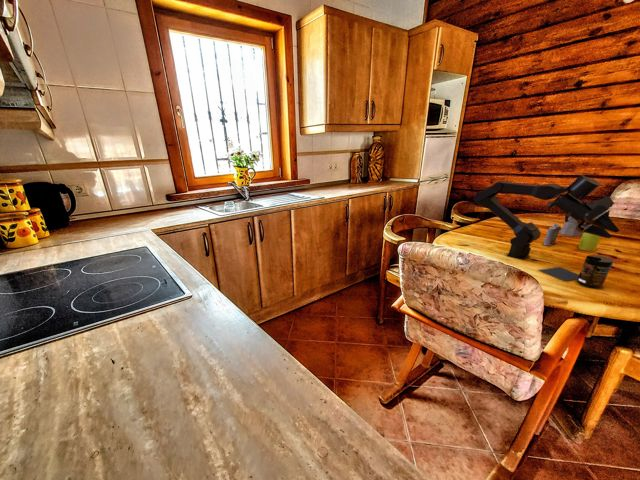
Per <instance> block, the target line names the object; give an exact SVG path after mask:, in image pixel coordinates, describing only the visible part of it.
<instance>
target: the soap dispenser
mask: <svg viewBox="0 0 640 480" xmlns="http://www.w3.org/2000/svg"><path fill="white" fill-rule="evenodd" d="M601 238H602V237H601V236H597V235H593V234H589V233H583V234H582V236H581V238H580V241H579V243H578V246H577V249H579V250H582V251H585V252H594V251H596V250H597V248H598V245H599V242H600V240H601Z"/></svg>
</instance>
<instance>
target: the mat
mask: <svg viewBox="0 0 640 480" xmlns="http://www.w3.org/2000/svg"><path fill="white" fill-rule="evenodd" d="M538 271H540V272H542V273H544V274H547V275H549V276H551V277H554V278H556V279H559V280H561V281H563V282H569V281H574V280H575V281H577V279H578V276H579V274H578V273H576V272H573V271H571V270H568V269H566V268H563V267H552V268H545V269H539V270H538Z"/></svg>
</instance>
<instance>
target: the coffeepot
mask: <svg viewBox="0 0 640 480" xmlns="http://www.w3.org/2000/svg"><path fill="white" fill-rule="evenodd" d="M580 201H581V202H582V203H583V202H584V201H585V200H580ZM577 225H578V223H577V221H576V220H575V219H573V218H572V217H568V216H567V214H566V213H565V212H564V223H563V226H561V228H560V230H559V233H558V234H560V235H563V236H567V237H573V238H574V237H575V238H576V237H577V238H579V237H582V235H583V231H582V232H579V231H578V230H576V226H577Z"/></svg>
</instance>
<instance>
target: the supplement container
mask: <svg viewBox="0 0 640 480" xmlns="http://www.w3.org/2000/svg"><path fill="white" fill-rule="evenodd" d="M614 262H615V260H614V259H613V258H610V257H607V256H603V255H598V254H597V255H596V254H588V255H586V257H585V259H584V262H583V264H582V267H581V269H580V270H579V271H580V272H579V274H578V275H579V276H578V279H576V283H578V285H580V286H582V287H586V288H590V289H600V288H603V285H604V283H605V281H606V280H607V277H608V275H609V273H610V271H611V268H612V266H613V264H614Z"/></svg>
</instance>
